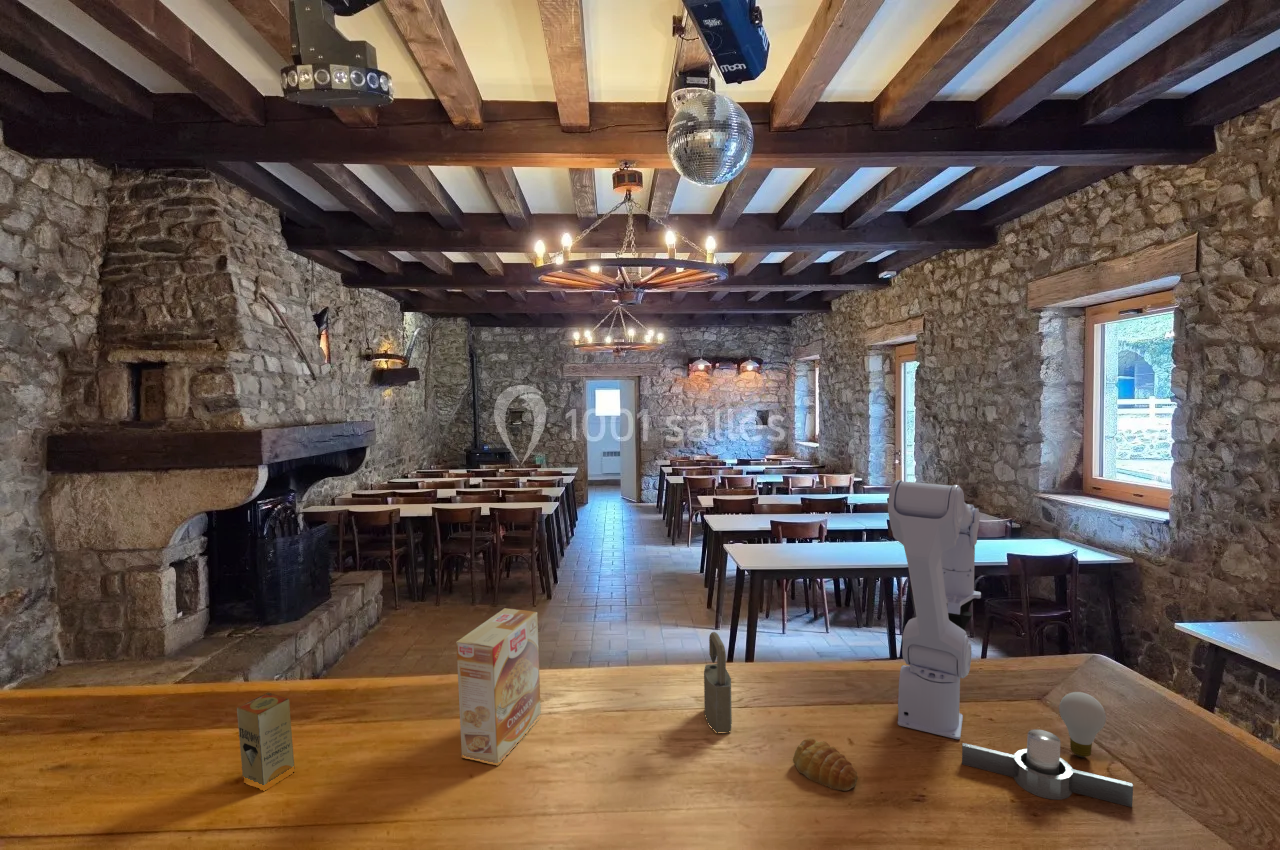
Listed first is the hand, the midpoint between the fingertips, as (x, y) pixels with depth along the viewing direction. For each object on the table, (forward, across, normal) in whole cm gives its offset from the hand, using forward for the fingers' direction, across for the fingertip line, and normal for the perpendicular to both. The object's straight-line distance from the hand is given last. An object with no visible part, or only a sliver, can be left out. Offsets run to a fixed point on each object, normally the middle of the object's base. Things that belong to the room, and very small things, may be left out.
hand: (955, 638), depth 120 cm
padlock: (+10, -31, +35) cm, 48 cm away
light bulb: (+10, -15, -18) cm, 26 cm away
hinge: (+9, -25, -13) cm, 30 cm away
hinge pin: (+9, -25, -13) cm, 30 cm away
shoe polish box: (+10, -77, +90) cm, 119 cm away
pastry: (+10, -37, +16) cm, 41 cm away
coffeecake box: (+10, -52, +65) cm, 84 cm away
